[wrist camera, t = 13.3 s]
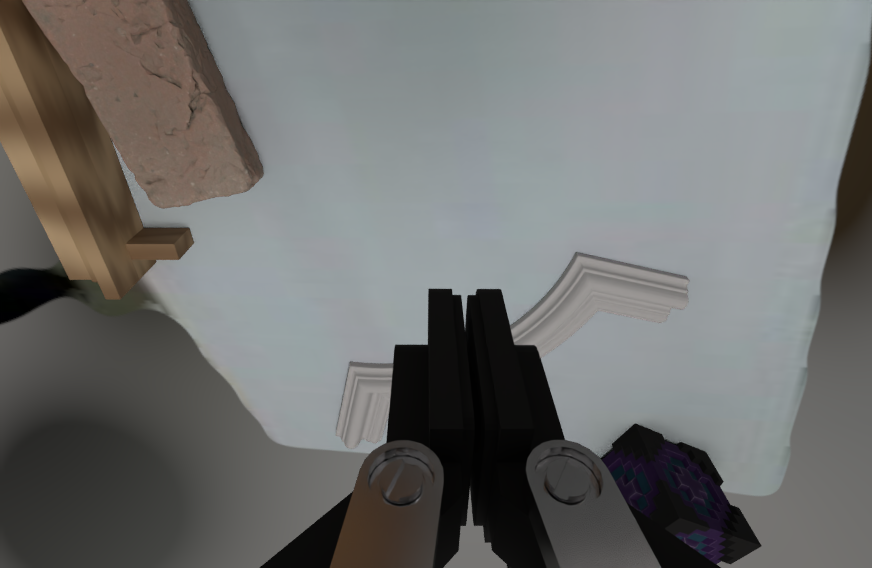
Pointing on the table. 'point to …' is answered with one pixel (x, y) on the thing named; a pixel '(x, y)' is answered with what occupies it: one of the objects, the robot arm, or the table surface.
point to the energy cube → (680, 493)
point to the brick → (155, 94)
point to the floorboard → (72, 164)
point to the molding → (531, 329)
